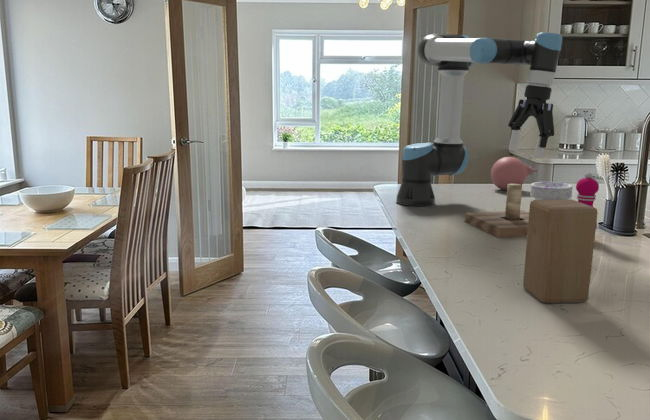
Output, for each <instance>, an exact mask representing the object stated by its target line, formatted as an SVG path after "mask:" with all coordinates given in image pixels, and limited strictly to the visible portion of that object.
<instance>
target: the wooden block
mask: <svg viewBox="0 0 650 420" xmlns="http://www.w3.org/2000/svg"><path fill="white" fill-rule="evenodd" d="M528 212H529V221H528V232H527V236H526V246H525V247H526V248H525V258H524V268H523V269H524V271H523V281H522V283H523V284H522V285H523V288H524V289H525V290H526V291H527V292H528V293H530V294H531V295H533V297H535V298H536V299H538V301H540V303H541V302H542V303H544V304H553V303H554V304H559V303H560V304H561V303H562V304H563V303H585V302H587V301H588V300H589V294H590V293H589V292H590V283H591V275H592V266H593V258H594V248H595V239H596V231H597V228H596V222H597V223H598V221H597V219H598V209H597V207H595V206H593V207H592V206H589V205H586V204H583V203H580V202H578V200H575V199H572V198H570V199H559V200H535V199H533V200H530V202H529V210H528Z"/></svg>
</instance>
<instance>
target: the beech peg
mask: <svg viewBox="0 0 650 420" xmlns="http://www.w3.org/2000/svg"><path fill="white" fill-rule="evenodd" d="M522 190H523V184H522V185H520V184H508V186H507V191H506V199H505V200H506V201H505V211H506V213H505V219H506V220H508V221H518V220H519V219H520V210H521V205H522V192H523V191H522Z"/></svg>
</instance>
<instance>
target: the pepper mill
mask: <svg viewBox="0 0 650 420" xmlns="http://www.w3.org/2000/svg"><path fill="white" fill-rule="evenodd" d="M592 177H593V174H592V173H590V172H587V173H586V174H585V175H584V177H583V178H581V179H578V181H577V182H576V185H575V190H576V191H577V194H576V199H577V202H580V203H583V204H586V205H589V206H592V207H594V202H595V201H596V197H597V195H596V194H597V193H598V192H599V190H600V189H599V188H600V187H599V186H600V185H599V182H598V180H596V179H595V178H592ZM597 223H598V221H597V222H596V229H597V227H598V226H597V225H598V224H597Z"/></svg>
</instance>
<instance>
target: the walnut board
mask: <svg viewBox="0 0 650 420" xmlns="http://www.w3.org/2000/svg"><path fill="white" fill-rule="evenodd" d="M505 213H506V210H502V211H501V210H500V211H499V210H498V211H479V212H464V223H466V224H469V225H471V226H473V227H475V228H478V229H480V230H482V231H484V232H486V233H488V234H491V235H492V236H495V237H496V238H500V239H501V238H502V239H503V238H516V237H517V238H519V237H527V232H528V221H529V211H526V210H523V209H520V219H519V220H518V221H508V220H506V219H505Z"/></svg>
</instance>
